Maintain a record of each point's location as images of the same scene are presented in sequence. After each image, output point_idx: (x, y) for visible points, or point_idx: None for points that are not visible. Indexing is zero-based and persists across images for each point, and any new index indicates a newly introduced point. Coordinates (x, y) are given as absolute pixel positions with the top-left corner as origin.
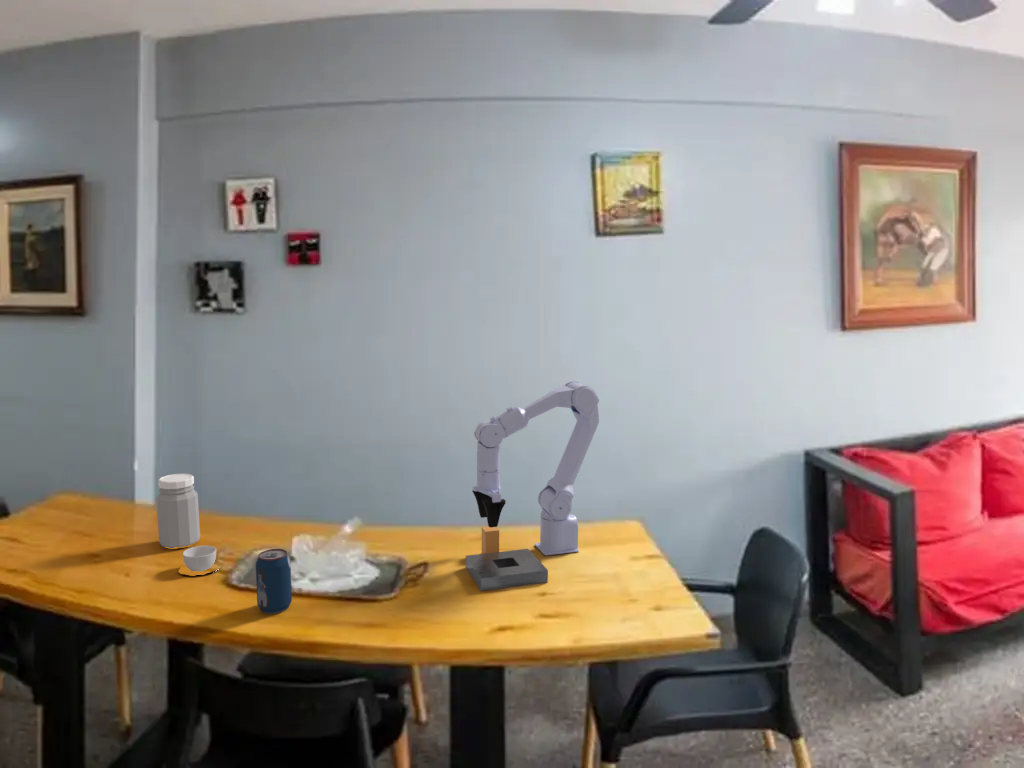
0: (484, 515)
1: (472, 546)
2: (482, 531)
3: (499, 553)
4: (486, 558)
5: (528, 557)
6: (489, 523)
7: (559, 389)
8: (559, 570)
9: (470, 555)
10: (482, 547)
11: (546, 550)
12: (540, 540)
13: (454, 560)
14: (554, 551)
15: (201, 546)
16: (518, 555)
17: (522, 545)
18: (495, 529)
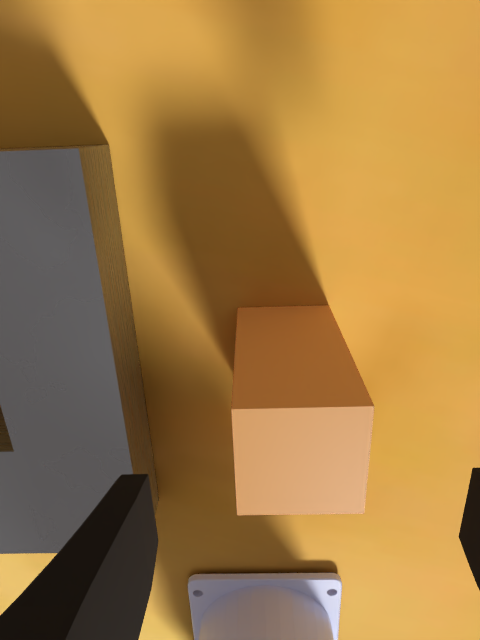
0: (477, 518)
1: (468, 276)
2: (335, 387)
3: (91, 397)
4: (6, 295)
5: (7, 522)
6: (97, 511)
7: None
8: (17, 574)
9: (78, 190)
10: (314, 324)
11: (224, 597)
12: (278, 623)
13: (258, 87)
14: (202, 619)
15: None
16: (43, 486)
17: (362, 525)
18: (265, 495)
